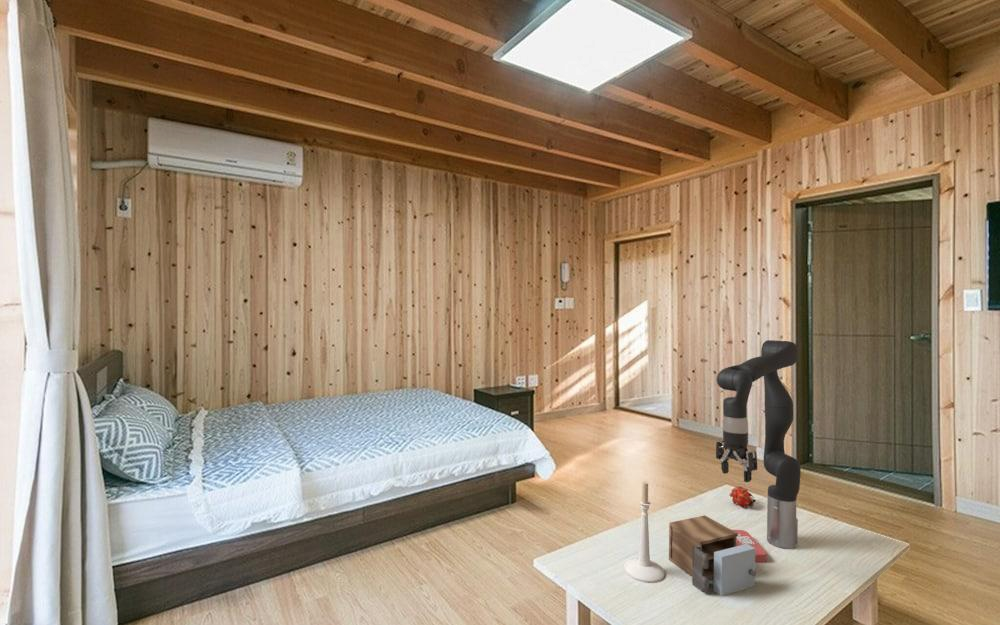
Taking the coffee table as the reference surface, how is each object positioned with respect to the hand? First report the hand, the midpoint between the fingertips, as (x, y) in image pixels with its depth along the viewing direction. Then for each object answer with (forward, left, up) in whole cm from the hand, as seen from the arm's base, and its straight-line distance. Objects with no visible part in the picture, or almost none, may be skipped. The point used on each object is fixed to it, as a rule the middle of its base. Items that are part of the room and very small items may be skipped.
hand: (736, 477), depth 156 cm
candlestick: (+30, -9, -31) cm, 44 cm away
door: (+10, +8, -31) cm, 33 cm away
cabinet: (+11, -2, -31) cm, 33 cm away
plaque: (-11, -9, -31) cm, 34 cm away
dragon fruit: (-44, -35, -31) cm, 64 cm away
